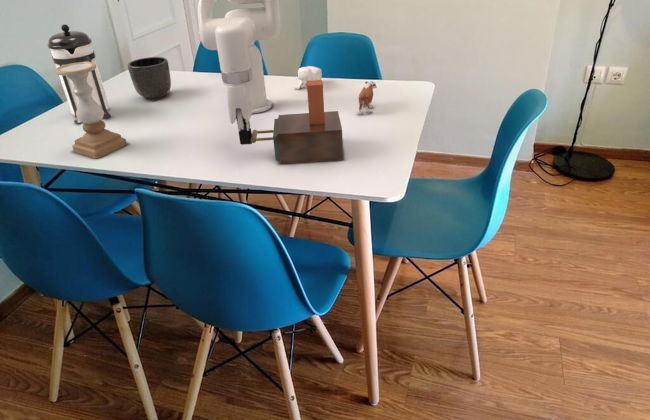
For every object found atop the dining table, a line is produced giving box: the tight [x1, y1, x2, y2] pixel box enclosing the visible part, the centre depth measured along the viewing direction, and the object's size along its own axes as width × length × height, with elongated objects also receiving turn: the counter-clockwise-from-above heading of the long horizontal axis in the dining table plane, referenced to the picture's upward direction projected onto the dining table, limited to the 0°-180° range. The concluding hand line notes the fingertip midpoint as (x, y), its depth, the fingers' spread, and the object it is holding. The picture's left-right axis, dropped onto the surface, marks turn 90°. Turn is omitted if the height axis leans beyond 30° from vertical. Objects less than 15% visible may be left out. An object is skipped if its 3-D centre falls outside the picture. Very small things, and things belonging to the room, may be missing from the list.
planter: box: [127, 56, 172, 101], centre depth 180 cm, size 14×14×13 cm
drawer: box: [251, 118, 280, 161], centre depth 134 cm, size 22×12×7 cm, turn 93°
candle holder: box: [54, 62, 128, 159], centre depth 139 cm, size 11×11×24 cm
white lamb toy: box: [295, 65, 323, 90], centre depth 182 cm, size 9×8×15 cm
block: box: [306, 79, 325, 125], centre depth 129 cm, size 4×4×10 cm
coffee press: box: [47, 23, 112, 125], centre depth 162 cm, size 17×16×30 cm
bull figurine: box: [358, 79, 378, 115], centre depth 159 cm, size 4×13×8 cm, turn 161°
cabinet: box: [277, 110, 344, 165], centre depth 134 cm, size 17×14×9 cm
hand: (246, 143), depth 134 cm, fingers closed
